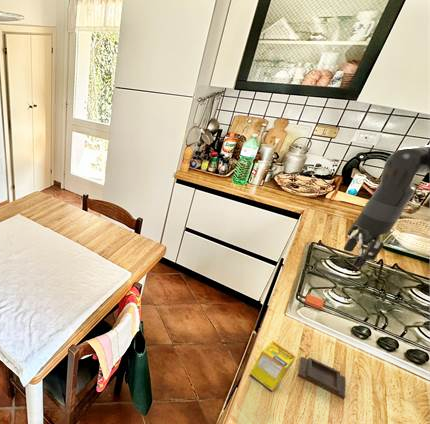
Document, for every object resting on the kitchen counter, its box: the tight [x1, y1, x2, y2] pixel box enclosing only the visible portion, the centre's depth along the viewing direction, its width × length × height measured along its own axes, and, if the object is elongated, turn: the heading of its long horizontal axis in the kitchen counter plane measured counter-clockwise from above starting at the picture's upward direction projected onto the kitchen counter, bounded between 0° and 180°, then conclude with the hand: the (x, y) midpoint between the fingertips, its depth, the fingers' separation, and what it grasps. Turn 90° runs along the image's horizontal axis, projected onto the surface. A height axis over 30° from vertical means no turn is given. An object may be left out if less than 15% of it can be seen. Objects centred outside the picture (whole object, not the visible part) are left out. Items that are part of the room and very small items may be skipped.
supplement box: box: [249, 340, 297, 393], centre depth 82 cm, size 6×6×11 cm
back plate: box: [297, 356, 346, 400], centre depth 85 cm, size 10×7×2 cm
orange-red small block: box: [304, 293, 324, 311], centre depth 106 cm, size 5×5×3 cm
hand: (351, 257), depth 96 cm, fingers open, 8 cm apart
